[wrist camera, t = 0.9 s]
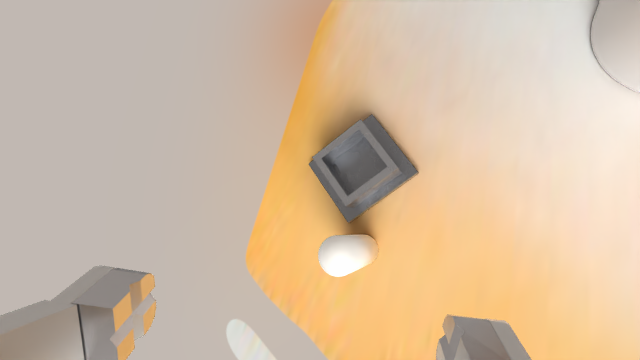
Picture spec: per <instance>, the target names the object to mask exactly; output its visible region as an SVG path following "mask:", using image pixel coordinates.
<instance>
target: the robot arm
mask: <svg viewBox="0 0 640 360" xmlns="http://www.w3.org/2000/svg"><path fill="white" fill-rule="evenodd" d="M591 43H592V48H593V51H594V54H595V56H596V58H597V60H598V62H599V63H600V65H601V66H602V68H603V69H604V70H605V71H606V72H607V73H608V74H609V75H610V76H611V77H612V78H613V79H615V80H616V81H617V82H619V83H620V84H622V85H624V86H625V87H627V88H629V89H631V90H633V91H636V92H639V93H640V0H599V4H598V8H597V10H596V13H595V16H594V18H593V22H592V27H591ZM154 287H155V282H154V276H153V275H152V274H151V273H145V272H139V271H133V270H127V269H120V268H113V267H107V266H95V267H93V268H92V269H91V270H89V271H88V272H87V273H86V274H85V275H83V276H82V277H80V278H79V279H78V280H77V281H75V282H74V283H73V284H72V285H70V286H69V287H68V288H66V289H65V290H64V291H63V292H61V293H60V294H59V295H58V296H56V297H55V298H54V299H52V300H51V301H47V300H44V301H41V302H38V303H35V304H32V305H29V306H27V307H24V308H21V309H18V310H15V311H12V312H9V313H7V314H4V315H1V316H0V360H126V359H127V357H128V356H129V355H130V354H131V352H132V351H133V350H134V348H135V346H134V340H136V339H138V338H140V337H142V336H144V335H145V334H146V332H147V331H148V329H149V328H150V326H151V324H152V321H153V319H154V317H155V310H156V300H155V299H154V297H153V296H152V295H151V293H150V292H151V291H152V289H153V288H154ZM443 329H444V332H445V335H444V336H443V337H442V338H441V339H439V342H438V346H437V354H436V360H531V358H530V357H529V355H528V353H527V352H526V350H525V349H524V347H523V346H522V344H521V342H520V341H519V339H518V338H517V336H516V335H515V333H514V331H513V330H512V328H511V327H510V325H509V324H508V323H507V322H506V321H503V320H493V319H479V318H472V317H464V316H456V315H449V314H447V316H446V318H445V320H444V323H443Z"/></svg>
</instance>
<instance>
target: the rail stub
mask: <svg viewBox="0 0 640 360" xmlns="http://www.w3.org/2000/svg"><path fill="white" fill-rule="evenodd" d="M377 255H378V245H377V243H376V241H375V240H374V239H373V238H372V237H371V236H369V235H365V234H359V235H336V236H331V237H329V238H327V239H326V240H325V241H324V242H323V243H322V244H321V246H320V249H319V253H318V258H319V262H320V265H321V267H322V268H323V270H324V271H325V272H327V273H328V274H330V275H332V276H336V277H340V276H345V275H347V274H349V273H351V272H353V271H356V270H358V269H360V268H362V267H364V266H366V265H369V264H371V263H372V262H374V261H375V259H376V258H377Z"/></svg>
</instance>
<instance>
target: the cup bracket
mask: <svg viewBox="0 0 640 360" xmlns="http://www.w3.org/2000/svg"><path fill="white" fill-rule="evenodd" d="M312 158H313V159H314V160H313V161H312V162H310V163H309V166H310V167H311V169H312V170H313V172H314V173H315V174H316V176H317V177H318V179H319V180H320V182H321V183H322V185H323V186H324V188H325V189H326V191H327V192H328V194H329V195H330V197H331V198H332V200H333V201H334V203H335V204H336V206H337V207H338V209H339V210H340V212H341V213H342V214H343V216H344V217H345V219H346V220H347V222H348V223H351V222H352V221H353V220H355V219H356V218H358V217H359V216H360V215H362V214H363V213H364V212H366V211H367V210H369V209H370V208H371V207H373V206H374V205H376V204H377V203H378V202H380V201H381V200H382V199H384V198H385V197H387V196H388V195H389V194H391V193H392V192H394V191H395V190H396V189H398V188H399V187H400V186H402V185H403V184H405V183H406V182H407V181H409V180H410V179H412V178H413V177H414V176H416V175H417V174H418V171H417V170H416V169H415V168H414V166H413V165H412V164H411V163H410V161H409V160H408V159H407V158H406V156H405V155H404V154H403V152H402V151H401V150H400V149H399V147H398V146H397V145H396V144H395V142H394V141H393V140H392V139H391V137H390V136H389V135H388V134H387V132H386V131H385V130H384V128H383V127H382V126H381V125H380V123H379V122H378V121H377V120H376V118H375V117H374V116H373V115H370V116H369V117H368V118H367V119H365V120H364V121H363V122H362V120H361V119H360V120H359V121H358V122H357V123H355V124H354V125H353V126H351V127H350V128H349V129H348V130H346V131H345V132H344V133H343V134H341V135H340V136H339V137H337V138H336V139H335V140H334V141H332V142H331V143H330V144H329V145H327V146H326V147H325V148H323V149H322V150H321V151H320V152H318V153H317V154H316V155H315V156H313V157H312Z"/></svg>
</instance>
